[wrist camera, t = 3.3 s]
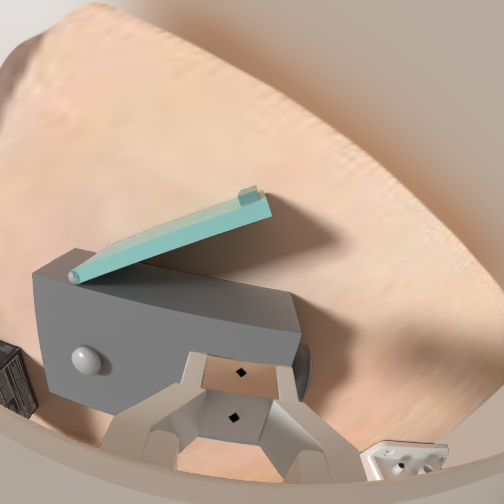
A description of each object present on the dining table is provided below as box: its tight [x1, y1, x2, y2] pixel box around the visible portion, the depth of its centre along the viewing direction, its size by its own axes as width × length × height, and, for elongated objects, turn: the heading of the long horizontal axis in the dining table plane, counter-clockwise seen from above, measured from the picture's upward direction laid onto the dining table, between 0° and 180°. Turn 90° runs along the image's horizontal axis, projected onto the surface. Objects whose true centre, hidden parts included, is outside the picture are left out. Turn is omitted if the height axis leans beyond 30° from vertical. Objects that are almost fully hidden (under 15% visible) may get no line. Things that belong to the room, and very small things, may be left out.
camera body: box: [32, 248, 312, 446], centre depth 25 cm, size 22×12×8 cm, turn 79°
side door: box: [68, 185, 272, 284], centre depth 22 cm, size 14×2×7 cm, turn 109°
